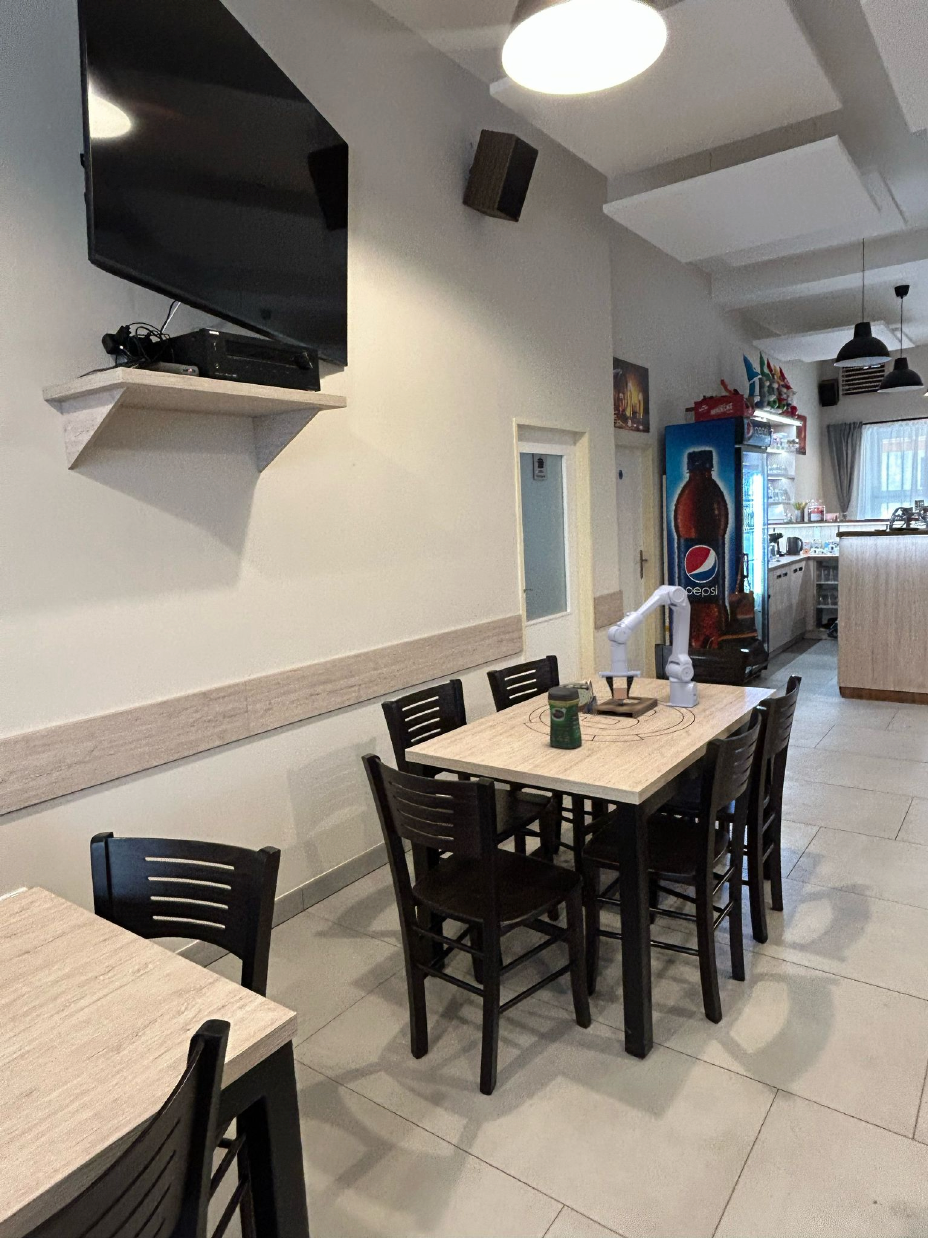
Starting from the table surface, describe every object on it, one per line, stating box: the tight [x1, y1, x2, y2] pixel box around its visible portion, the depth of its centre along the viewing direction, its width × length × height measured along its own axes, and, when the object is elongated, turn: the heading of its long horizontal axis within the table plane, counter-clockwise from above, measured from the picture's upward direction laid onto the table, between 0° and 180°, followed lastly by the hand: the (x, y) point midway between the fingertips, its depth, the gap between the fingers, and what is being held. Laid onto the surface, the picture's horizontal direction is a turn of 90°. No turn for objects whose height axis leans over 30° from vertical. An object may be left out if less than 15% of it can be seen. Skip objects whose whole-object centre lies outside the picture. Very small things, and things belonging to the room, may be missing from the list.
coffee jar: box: [547, 686, 583, 749], centre depth 246 cm, size 10×8×19 cm
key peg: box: [613, 687, 629, 715], centre depth 284 cm, size 5×5×8 cm
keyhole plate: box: [592, 695, 659, 719], centre depth 287 cm, size 16×20×3 cm
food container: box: [557, 682, 592, 714], centre depth 291 cm, size 12×6×10 cm, turn 84°
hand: (620, 697), depth 283 cm, fingers closed on key peg, 4 cm apart
